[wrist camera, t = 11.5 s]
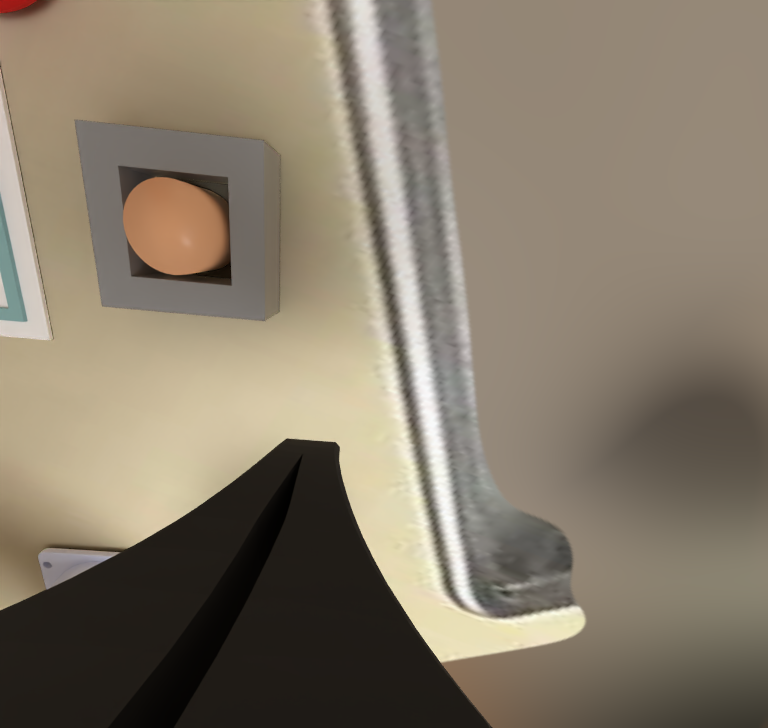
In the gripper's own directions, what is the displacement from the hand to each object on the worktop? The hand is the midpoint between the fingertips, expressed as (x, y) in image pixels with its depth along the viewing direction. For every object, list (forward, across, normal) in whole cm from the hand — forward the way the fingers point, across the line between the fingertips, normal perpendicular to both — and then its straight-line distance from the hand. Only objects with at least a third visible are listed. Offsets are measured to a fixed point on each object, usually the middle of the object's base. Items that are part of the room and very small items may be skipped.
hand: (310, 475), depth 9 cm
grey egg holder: (+10, +7, -6) cm, 14 cm away
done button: (+10, +7, -5) cm, 13 cm away
